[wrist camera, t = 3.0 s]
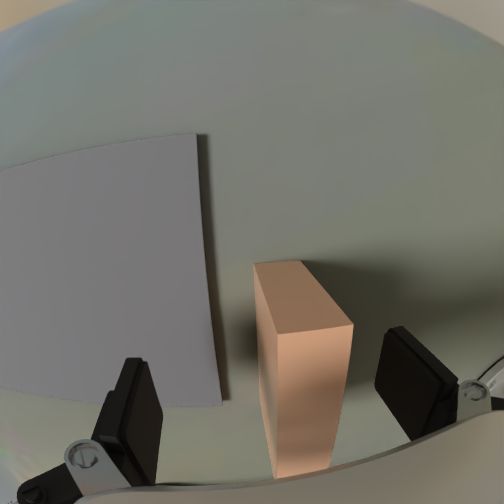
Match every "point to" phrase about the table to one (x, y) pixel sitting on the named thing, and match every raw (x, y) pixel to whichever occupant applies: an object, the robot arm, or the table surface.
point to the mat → (106, 273)
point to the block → (299, 366)
